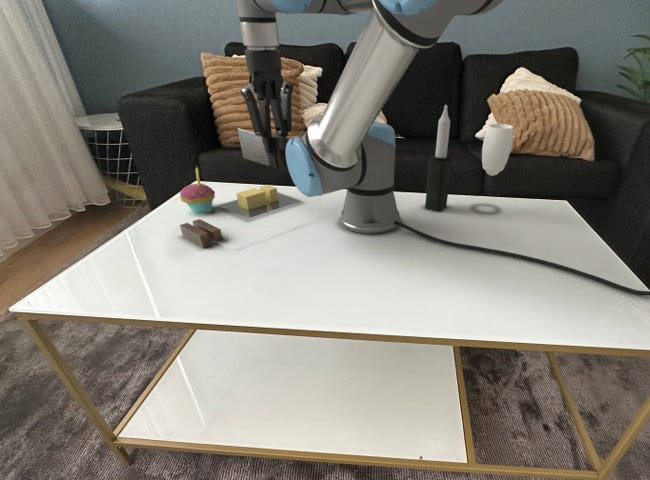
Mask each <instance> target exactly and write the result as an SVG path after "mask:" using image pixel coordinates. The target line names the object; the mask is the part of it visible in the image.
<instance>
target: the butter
mask: <svg viewBox="0 0 650 480" xmlns="http://www.w3.org/2000/svg"><path fill="white" fill-rule="evenodd" d="M235 193H236V200H238V204H239V206H240V207H242V208H245V209H247V210H251V209H254V208H257V207H261V206H264V205H267V203H266V197H265V192H264V191H261V190H260V188H259V189H258V188H256V187H253V188H249V189H246V190H242V191H239V192H235Z"/></svg>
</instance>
